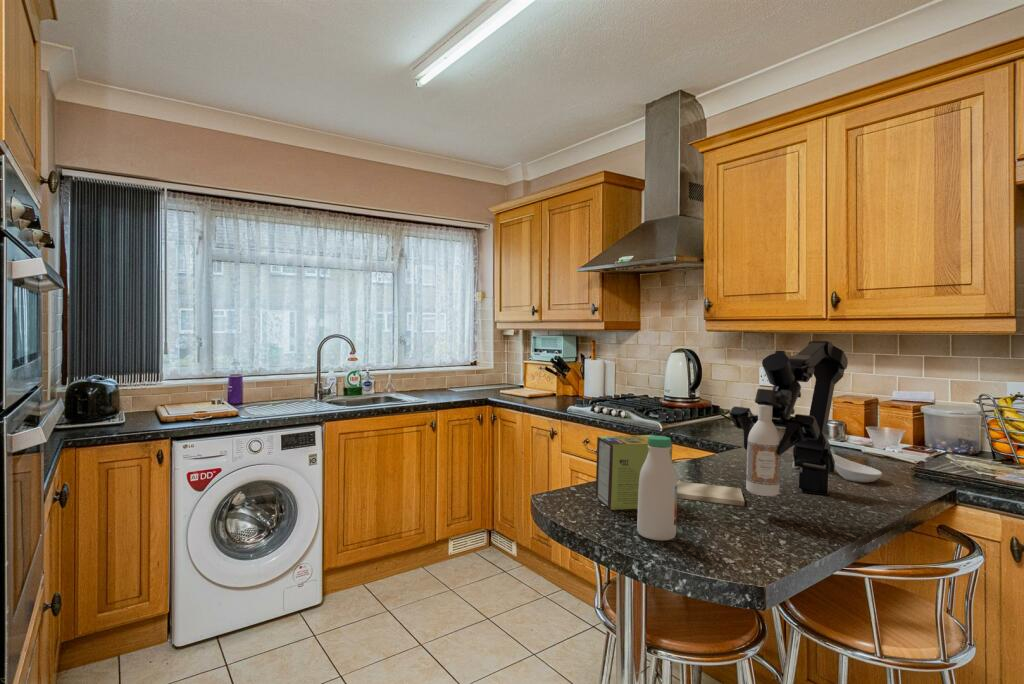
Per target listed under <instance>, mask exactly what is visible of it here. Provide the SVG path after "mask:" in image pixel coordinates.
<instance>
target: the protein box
mask: <svg viewBox="0 0 1024 684" xmlns="http://www.w3.org/2000/svg"><path fill="white" fill-rule="evenodd" d="M649 436H654V435H653V434H645V435H644V434H643V435H638V434H637V435H635V434H634V435H600V436H599V435H598V436H597V440H596V441H597V442H596V470H595V471H596V473H595V480H596V481H595V498H596V499H597V500H599V501H600V502H601V503H602V504H603V505H605V507H606V508H608V509H609V510H611V511H612V510H615V511H616V510H617V511H618V510H620V511H621V510H638V489H639V476H640V471H641V468H642V466H643V464H644V462H645V460H646V458H647V455H648V452H649V448H648V437H649ZM670 458H671V461H672V462H673V443H672V442H671V449H670Z"/></svg>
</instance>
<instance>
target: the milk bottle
mask: <svg viewBox="0 0 1024 684" xmlns="http://www.w3.org/2000/svg"><path fill="white" fill-rule="evenodd" d="M671 443H672V439H671V437H669V436H664V435H653V436H649V437H648V448H649V452H648V455H647V458H646V460H645V462H644V464H643V466H642V468H641V471H640V476H639V489H638V509H637V513H636V514H637V517H636V518H637V522H636V531H637V533H638V534H639V535H640V536H641V537H643V538H646V539H648V540H653V541H662V542H663V541H671V540H674V539H675V537H676V533H677V514H678V498H677V481H678V476H677V471H676V469H675V466H674V464H673V460H672V461H671V458H670V449H671Z"/></svg>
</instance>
